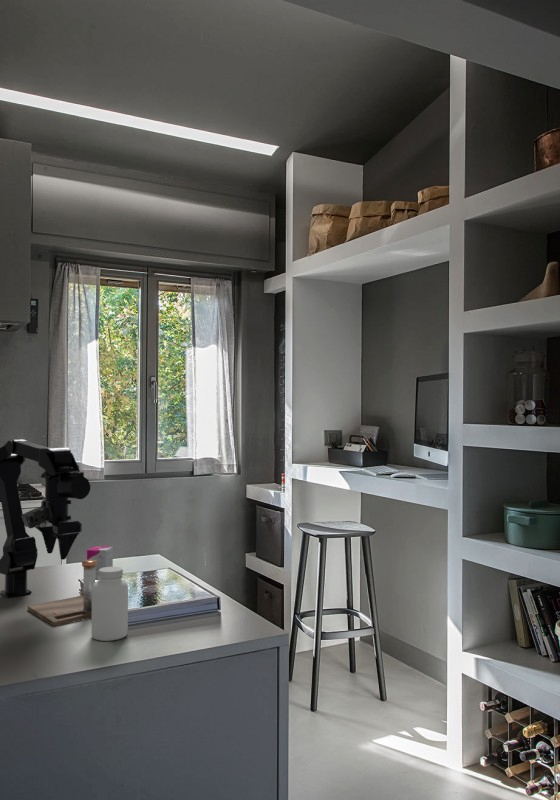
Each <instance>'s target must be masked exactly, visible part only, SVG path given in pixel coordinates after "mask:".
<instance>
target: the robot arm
mask: <svg viewBox="0 0 560 800" xmlns="http://www.w3.org/2000/svg"><path fill="white" fill-rule="evenodd" d="M26 459H28V460H31V461H35V462H36V463H38V467H40V468H41V469H43V470H44V472H43V473H41V475H40V478H41V479H45V484H44V486H45V487H44V488H45V489H44V495H45V496H44V499H42V501H41V505H40V506H38V507H36V508H33V509H31V510H28V511H27V512H24V513H23V509H22V502H21V498H20V491H19V486H18V481H19V479H20V475H21V474H22V465H24V463H25V462H26ZM90 492H91V484H90V481H89V479H88V478H87V477H85V473H84V471H81V470H80V466H79V465H78V463H77V461H76V458H75V457H74V454H73V452H72V450H71V448H69V447H48V446H45V445H41V444H39V443H38V444H37V443H35V442H31V441H28V439H24V438H21V439H20V438H17V439H10V440H8V441H6V443H5V444H4V445H3V446H1V447H0V503H1V508H2V514H3V515H2V516H3V521H4V526H5V532H6V540H5V542H4V544H3V546H2V556H1V557H0V574H2V575H4V590H0V594H2V595H3V596H5V597H6V598H12V597H19V596H23V595H31V594H32V591H31V590H30V589H28V571H31V570H35V568H36V564H37V561H38V560H37V559H38V555H39V554H38V548H37V543H36V538H35V537H34V536H31V535H29V534H28V533H27V530H26V528H29V529H34V528H35V529H37V530H38V531H39V532H40V533H41V534H42V539H43V541H44V545H45V548H46V552H47V554H52V553H53V551H54V548H55V546H56V541H57V542H58V543H57V544H58V550H59V557H60V559H61V560H62V561H63V560H66V559H67V557H68V554H69V552H70V551H71V548H72V546H73V544H74V543H75V540H76V539H77V537H78V536H79V535H80V533H82V531H83V529H82V526H83V524H82V523H81V522H80V521H79V520H76V519H74V518H73V519H72V516H71V515H69V505H71V504H72V500H71V499H74V500H82V499H85V498H87V496H89V493H90Z"/></svg>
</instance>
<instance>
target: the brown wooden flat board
mask: <svg viewBox="0 0 560 800" xmlns="http://www.w3.org/2000/svg"><path fill="white" fill-rule="evenodd" d="M27 611H29V612H30V613H32V614H33V615H35V616H37V617H38V618H40V619H41V620H43V621H44V622H46V623H48V624H49V625H51V626H53V627H56V626H62V625H66V624H70V623H69V622H71V623H74V622H73V621H76V622H79V621H78V620H80V621H83V620H82V619H85V620H88V619H87V618H89V619H92V612H90V613H86V614H83V595H78V596H72V597H67V598H62V599H57V600H52V601H45V602H42V603H37V604H31V605H28V606H27ZM65 623H66V624H65ZM61 624H62V625H61Z"/></svg>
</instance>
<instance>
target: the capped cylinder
mask: <svg viewBox="0 0 560 800" xmlns="http://www.w3.org/2000/svg"><path fill="white" fill-rule="evenodd" d="M81 566H82V567H83V586H82V587H83V588H82V589H83V591H82V592H83V614H86V613H90V612H92V587H93V584H94V583H95V566H97V560H87V559H85V560H82V561H81Z"/></svg>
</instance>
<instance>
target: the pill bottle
mask: <svg viewBox="0 0 560 800" xmlns="http://www.w3.org/2000/svg"><path fill="white" fill-rule="evenodd" d="M123 573H124V569H123V568H122V567H120V566H113V567H104V568H101V569H99V575H98V576H99V577H98V579H99V581H97V582H95V583H94V584H93V587H92V618H91V628H90V629H91V632H90V633H91V637H92V638H93V639H94V640H96V641H102V642H108V641H109V642H110V641H117V640H120V639H123V638H125V637H126V636H127V634H128V630H129V629H128V628H129V626H128V625H129V619H128V618H129V617H128V616H129V586H128V582H127V581H126V580H125V579H123V575H124V574H123Z"/></svg>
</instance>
